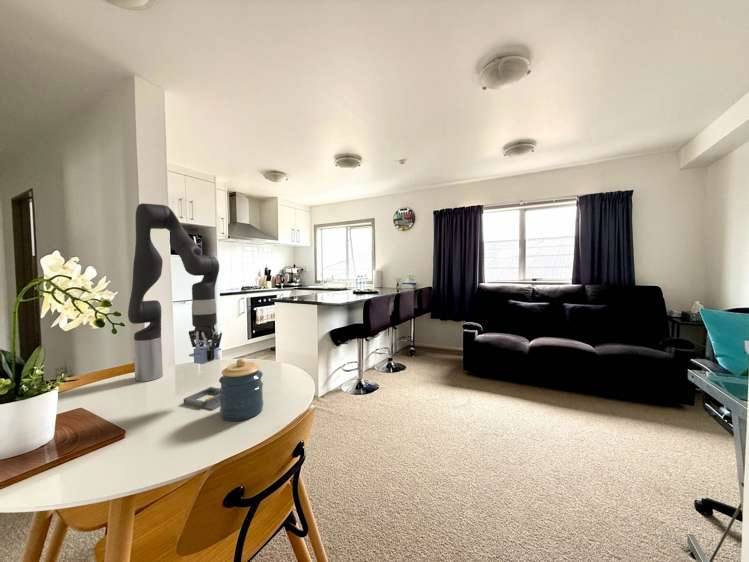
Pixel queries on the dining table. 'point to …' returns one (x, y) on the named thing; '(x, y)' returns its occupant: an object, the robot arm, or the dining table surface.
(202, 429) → the dining table surface
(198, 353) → the block
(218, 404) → the chassis plate
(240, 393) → the canister
